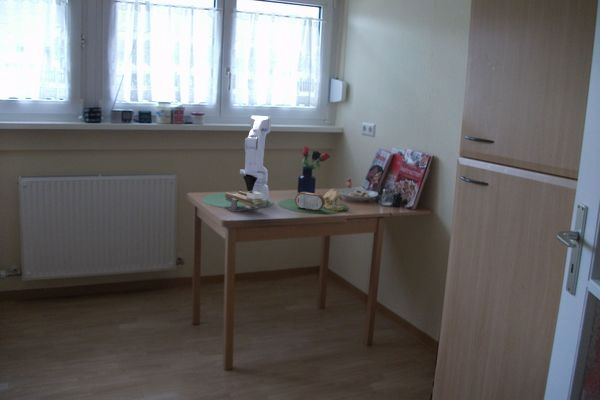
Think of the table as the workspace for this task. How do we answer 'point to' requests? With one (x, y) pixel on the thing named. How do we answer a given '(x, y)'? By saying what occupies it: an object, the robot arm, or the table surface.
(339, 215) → the table surface
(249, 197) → the block
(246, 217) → the table surface
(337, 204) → the ceramic model
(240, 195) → the tan wooden tray
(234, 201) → the stand
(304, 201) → the tin
